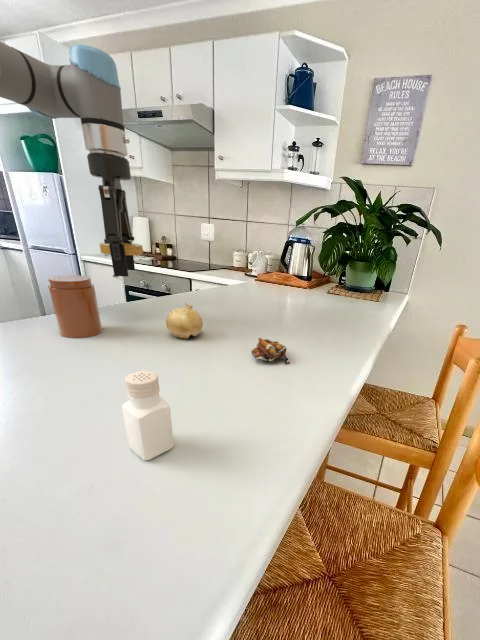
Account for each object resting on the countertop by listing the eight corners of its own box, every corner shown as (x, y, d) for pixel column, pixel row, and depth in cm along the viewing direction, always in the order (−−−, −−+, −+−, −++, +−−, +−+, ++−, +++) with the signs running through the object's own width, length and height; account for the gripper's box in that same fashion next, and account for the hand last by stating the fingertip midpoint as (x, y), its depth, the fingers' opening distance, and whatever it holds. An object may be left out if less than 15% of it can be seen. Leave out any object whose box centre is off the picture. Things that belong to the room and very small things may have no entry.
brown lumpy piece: (277, 343, 74) (278, 328, 73) (291, 364, 64) (293, 347, 63) (247, 343, 73) (247, 328, 71) (256, 365, 62) (257, 348, 61)
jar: (67, 326, 74) (54, 274, 68) (106, 326, 76) (96, 275, 70) (54, 338, 67) (39, 281, 61) (97, 337, 69) (86, 282, 64)
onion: (203, 341, 72) (202, 310, 69) (165, 341, 70) (162, 309, 67) (203, 330, 79) (202, 301, 75) (168, 330, 77) (166, 300, 74)
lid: (145, 251, 78) (144, 243, 77) (141, 256, 71) (140, 247, 70) (105, 250, 75) (103, 241, 75) (96, 254, 68) (95, 244, 67)
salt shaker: (158, 434, 41) (149, 366, 37) (176, 448, 39) (169, 377, 35) (127, 448, 38) (113, 376, 34) (144, 464, 36) (132, 389, 32)
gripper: (117, 148, 57) (135, 281, 67) (136, 164, 75) (148, 266, 85) (69, 142, 55) (95, 280, 65) (100, 160, 73) (116, 265, 83)
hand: (125, 272), depth 75 cm, fingers closed on lid, 9 cm apart
